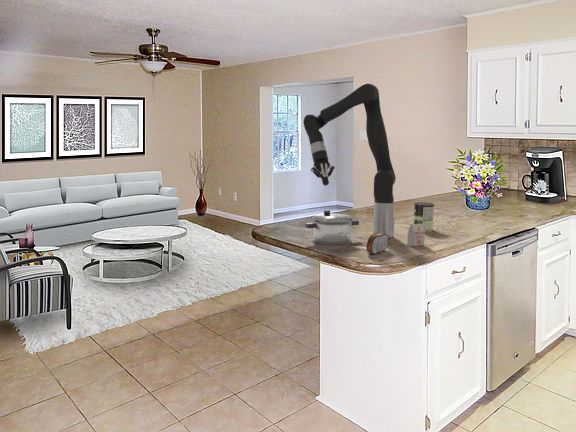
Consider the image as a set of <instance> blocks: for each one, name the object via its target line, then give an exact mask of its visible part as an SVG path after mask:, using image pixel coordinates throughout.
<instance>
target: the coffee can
mask: <svg viewBox="0 0 576 432" xmlns="http://www.w3.org/2000/svg"><path fill="white" fill-rule="evenodd" d="M413 204H414V206H413V209H414V210H413V221H412V222H413V224H423V227H424V231H428V232H432V231H433V227H434V225H433V224H434V214H435V213H434V212H435V211H434V209H435V203H433V202H426V201H425V202H424V201H423V202H422V201H421V202H420V201H419V202H414V203H413Z"/></svg>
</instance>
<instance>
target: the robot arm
mask: <svg viewBox="0 0 576 432" xmlns="http://www.w3.org/2000/svg"><path fill="white" fill-rule="evenodd" d="M362 104H363V107H364V110H365V113H366V122H365V123H366V126H365V128H366V130H365V131H366V138H367V143H368V147H369V149H370V151H371V154H372V156H373V158H374V161H375V165H376V170H377V171H376V173H375V175H374V178H373V199H374V202H373V203H374V205H373V207H374V208H373V210H374V211H373V227H372V228H373V229H372V230H373V231H372V234H376V233H380V232H382V233H386V234H387V235H388V239H390V238H393V237H394V235H395V217H394V202H395V201H394V199H395V198H394V194H393V193H394V184H395V182H396V175H395V174H396V173H395V170H394V168H393V165H392V164H393V163H392V160H391V156H390V155H391V154H390V149H389V142H388V141H389V140H388V136H387V131H386V126H385V123H384V117H383V115H382V111H381V101H380V92H379V89H378V87H377V86H376V85H374V84H372V83H368V82H367V83H363V84H361V85H360V86H359V87H357V88H356V89H355V90H353V91H352V92H351V93H349V94H348V95H346V96H345V97H342V98H341V99H339V100H337V101H336V102H334V103H331V104H330V105H328V106H326V107H324V108H322V109H321V110H320V111H319V114H318V115H314V114H313V113H308V114H306V115H305V116H304V118H303V127H304V130H305V132H306V135H307V138H308V141H309V146H310V151H311V152H310V153H311V155H312V157H311V158H312V161H313V167H311V168H310V171H311V172H312V173H313V174H314V175H315V176H316V177H317V178H318V179H319V178H320V179H321V182H322V185H323V186H324V187H325V186H328V185H329V184H330V182H329V177H330V176H331V175H332V173H333V171H334V169H335V166H334V165H331V163H330V162H329V156H328V151H327V148H326V147H327V146H326V145H325V140H324V137H323V133H322V132H321V131H320V129H322V128H324V126H326V125H327V124H328V123H329V122H332V121H333V120H336V119H337V118H339V117H341V116H343V115H344V114H345V113H346V112H348V111H350V110H351V109H352V108H354V107H356V106H360V105H362Z"/></svg>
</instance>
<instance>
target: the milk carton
mask: <svg viewBox="0 0 576 432" xmlns="http://www.w3.org/2000/svg"><path fill="white" fill-rule="evenodd" d="M425 237H426V232H425V231H424V227H423V224H410V227H409V230H408V232H407V243H406V245H407V246H408V245H410V246H409V247H411V246H416V247H420V246H419V245H424V246H425Z"/></svg>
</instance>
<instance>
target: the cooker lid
mask: <svg viewBox="0 0 576 432" xmlns="http://www.w3.org/2000/svg"><path fill="white" fill-rule="evenodd" d="M353 220H354V218H353V216H352V215H349V214H346V213H345V214H343V213H331V210H329V209H325V210H323V213H317V214H313V215H312V221H313V222H314V221H316V222H320V223H331V224H339V223H349V222H352V221H353Z"/></svg>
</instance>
